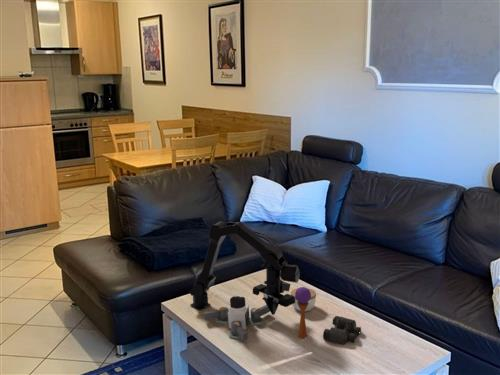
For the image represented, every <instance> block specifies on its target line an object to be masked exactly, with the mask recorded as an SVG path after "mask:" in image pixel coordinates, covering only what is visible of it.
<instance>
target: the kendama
mask: <svg viewBox="0 0 500 375" xmlns="http://www.w3.org/2000/svg"><path fill="white" fill-rule="evenodd" d="M297 288H298V289H297V290H296V292H295V297H296V300H297V301H298V302H297V303H298V306H299V308H300V310H301V311H300V317H299V319H300V320H299V321H300V322H299V328H298V335H297V336H298V338H299V339H306V338H308V336H307V334H308V333H307V325H306V316H305V312H306V311H305V309H306V308H307V306H308V304H309V303H308V301H309V300H310V298H311V292H310V290H309V289H310V288H309V289H307V288H308V287H305V286H300V287H297ZM304 311H305V312H304Z"/></svg>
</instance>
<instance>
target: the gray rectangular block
mask: <svg viewBox="0 0 500 375" xmlns="http://www.w3.org/2000/svg"><path fill="white" fill-rule="evenodd" d="M230 331H231V333H232V334H233V335H239V336H240V340H242V341H248V332H247V331H246V329H243V328H242V322H241V321H233V322H232V323H231V329H230Z"/></svg>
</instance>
